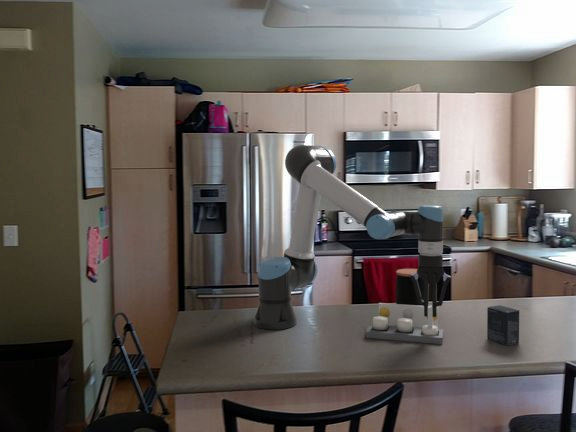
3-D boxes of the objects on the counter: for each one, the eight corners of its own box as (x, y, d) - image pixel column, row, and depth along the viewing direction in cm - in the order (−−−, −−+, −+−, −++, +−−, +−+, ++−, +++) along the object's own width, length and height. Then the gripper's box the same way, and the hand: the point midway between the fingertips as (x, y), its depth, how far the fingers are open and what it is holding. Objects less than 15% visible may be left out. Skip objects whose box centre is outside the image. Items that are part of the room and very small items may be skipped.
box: (519, 343, 162) (520, 310, 161) (506, 346, 159) (506, 312, 158) (499, 336, 169) (499, 304, 168) (486, 339, 166) (486, 306, 165)
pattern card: (378, 326, 182) (378, 303, 181) (379, 325, 183) (379, 302, 182) (437, 330, 175) (438, 307, 174) (438, 329, 176) (438, 306, 176)
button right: (421, 338, 166) (421, 328, 165) (422, 333, 170) (422, 324, 170) (437, 339, 164) (437, 329, 164) (438, 335, 169) (438, 325, 168)
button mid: (396, 331, 168) (396, 321, 168) (398, 327, 173) (398, 317, 172) (411, 332, 167) (411, 322, 166) (412, 328, 171) (413, 318, 171)
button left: (371, 329, 171) (371, 319, 170) (374, 325, 175) (374, 315, 175) (386, 330, 169) (386, 320, 169) (388, 326, 174) (388, 316, 173)
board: (365, 337, 169) (365, 331, 169) (370, 329, 178) (370, 323, 178) (442, 344, 162) (442, 337, 162) (443, 335, 170) (443, 329, 170)
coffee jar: (423, 316, 193) (423, 268, 192) (428, 324, 183) (428, 274, 181) (394, 315, 194) (394, 268, 193) (397, 324, 184) (397, 274, 182)
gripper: (408, 255, 164) (408, 328, 165) (451, 256, 159) (451, 331, 161) (410, 251, 171) (410, 321, 173) (452, 252, 166) (451, 324, 168)
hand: (430, 326), depth 167 cm, fingers closed
